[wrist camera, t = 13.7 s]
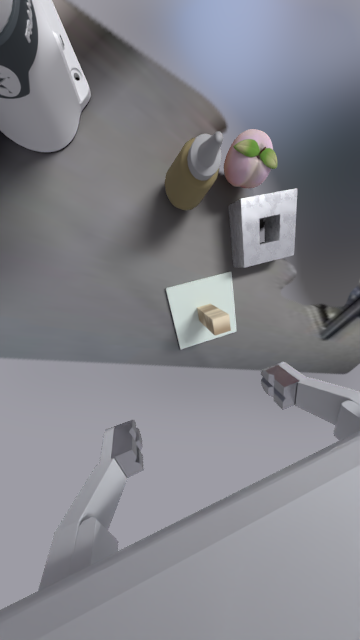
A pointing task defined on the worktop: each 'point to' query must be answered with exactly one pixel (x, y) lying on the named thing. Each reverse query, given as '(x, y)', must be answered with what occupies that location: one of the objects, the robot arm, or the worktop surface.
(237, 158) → the decorative fruit
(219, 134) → the squeeze bottle
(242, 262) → the aluminium socket block
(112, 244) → the worktop surface
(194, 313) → the sage pad
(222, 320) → the birch peg
